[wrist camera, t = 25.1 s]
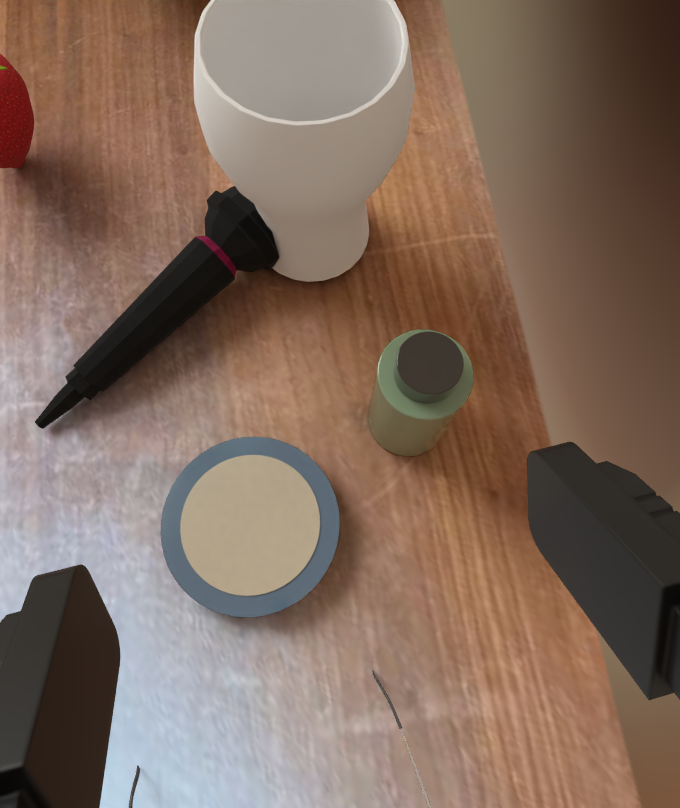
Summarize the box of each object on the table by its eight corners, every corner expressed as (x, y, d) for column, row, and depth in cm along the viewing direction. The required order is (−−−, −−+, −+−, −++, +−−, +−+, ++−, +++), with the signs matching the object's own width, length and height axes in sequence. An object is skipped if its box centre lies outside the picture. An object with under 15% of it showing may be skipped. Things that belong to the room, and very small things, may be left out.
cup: (289, 140, 44) (270, -83, 30) (419, 211, 42) (465, 12, 28) (200, 251, 41) (131, 65, 27) (335, 331, 39) (339, 178, 25)
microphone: (85, 453, 40) (302, 244, 42) (59, 461, 35) (311, 219, 37) (21, 393, 40) (245, 184, 42) (-16, 392, 34) (245, 150, 36)
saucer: (213, 651, 34) (208, 653, 33) (139, 493, 37) (131, 489, 35) (370, 559, 36) (372, 557, 34) (289, 414, 38) (287, 406, 37)
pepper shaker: (357, 442, 38) (366, 392, 29) (380, 372, 39) (396, 303, 30) (433, 466, 37) (466, 424, 28) (454, 395, 39) (491, 332, 30)
